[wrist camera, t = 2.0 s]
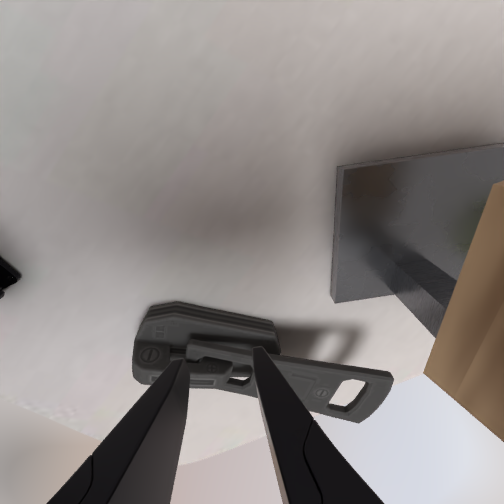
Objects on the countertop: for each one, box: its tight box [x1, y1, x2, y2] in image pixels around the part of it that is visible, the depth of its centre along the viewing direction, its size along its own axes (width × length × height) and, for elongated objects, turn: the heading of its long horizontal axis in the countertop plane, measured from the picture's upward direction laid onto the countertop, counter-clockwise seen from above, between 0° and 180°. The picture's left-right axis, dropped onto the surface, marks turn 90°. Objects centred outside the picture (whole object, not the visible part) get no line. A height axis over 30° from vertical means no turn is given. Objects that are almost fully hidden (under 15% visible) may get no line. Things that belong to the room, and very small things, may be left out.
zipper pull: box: [132, 302, 394, 423], centre depth 25 cm, size 9×7×25 cm
